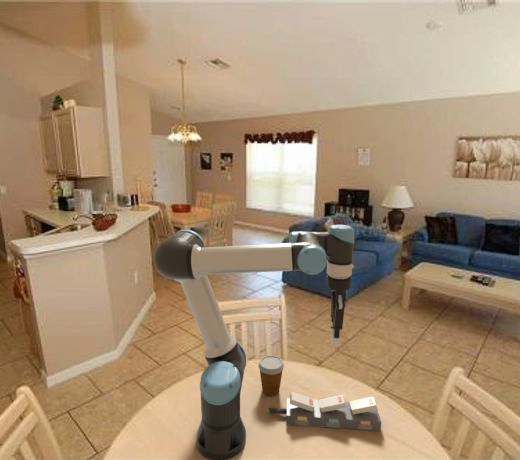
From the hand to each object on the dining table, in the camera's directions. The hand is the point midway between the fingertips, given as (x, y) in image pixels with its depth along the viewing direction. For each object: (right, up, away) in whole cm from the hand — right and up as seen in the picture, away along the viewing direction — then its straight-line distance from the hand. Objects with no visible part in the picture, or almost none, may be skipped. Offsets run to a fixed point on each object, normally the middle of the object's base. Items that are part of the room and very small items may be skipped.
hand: (335, 343), depth 111 cm
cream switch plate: (0, -21, +3) cm, 21 cm away
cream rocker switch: (+10, -21, +2) cm, 23 cm away
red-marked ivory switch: (-10, -20, +3) cm, 23 cm away
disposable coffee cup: (-20, -23, +17) cm, 35 cm away
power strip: (-3, -26, +4) cm, 27 cm away
